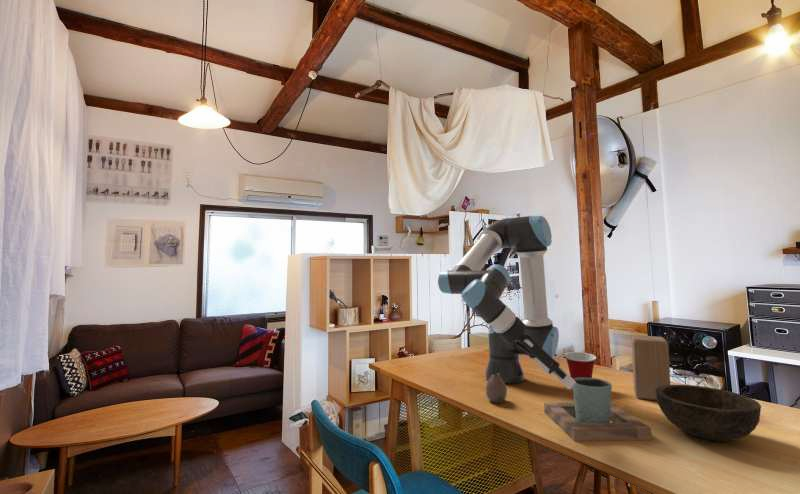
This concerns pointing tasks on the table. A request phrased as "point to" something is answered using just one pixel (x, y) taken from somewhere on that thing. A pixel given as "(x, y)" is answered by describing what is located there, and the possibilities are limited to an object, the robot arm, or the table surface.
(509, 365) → the robot arm
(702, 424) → the bowl
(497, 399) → the vase
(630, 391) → the table surface
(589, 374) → the plastic cup
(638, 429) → the well board
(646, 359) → the wooden block
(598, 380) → the grey-green cup
